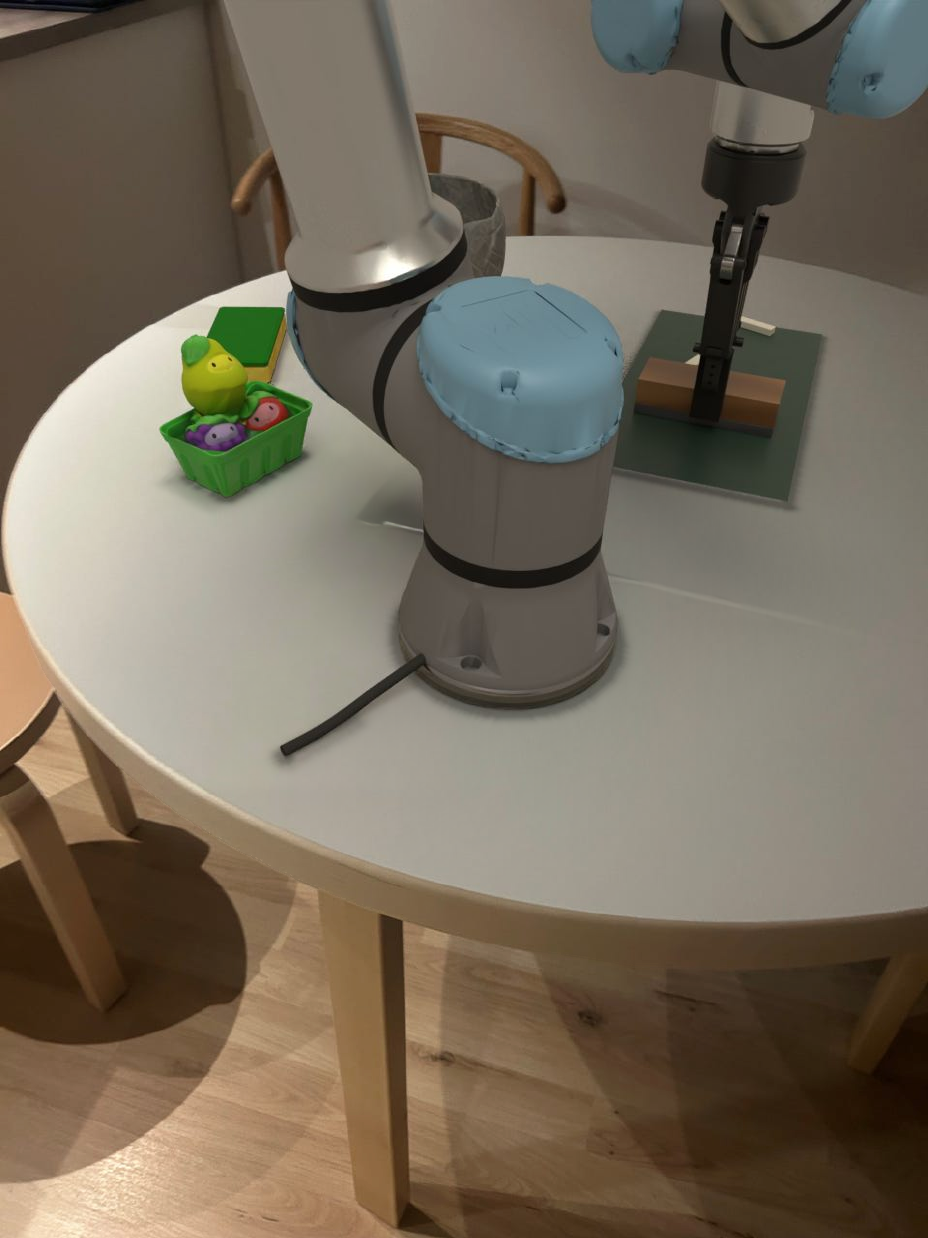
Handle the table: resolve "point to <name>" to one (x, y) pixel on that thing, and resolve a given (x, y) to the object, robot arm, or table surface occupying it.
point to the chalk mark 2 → (694, 360)
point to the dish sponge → (251, 337)
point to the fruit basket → (232, 421)
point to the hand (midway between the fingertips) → (705, 415)
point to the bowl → (476, 220)
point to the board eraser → (745, 400)
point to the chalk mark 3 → (757, 326)
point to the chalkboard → (716, 450)
